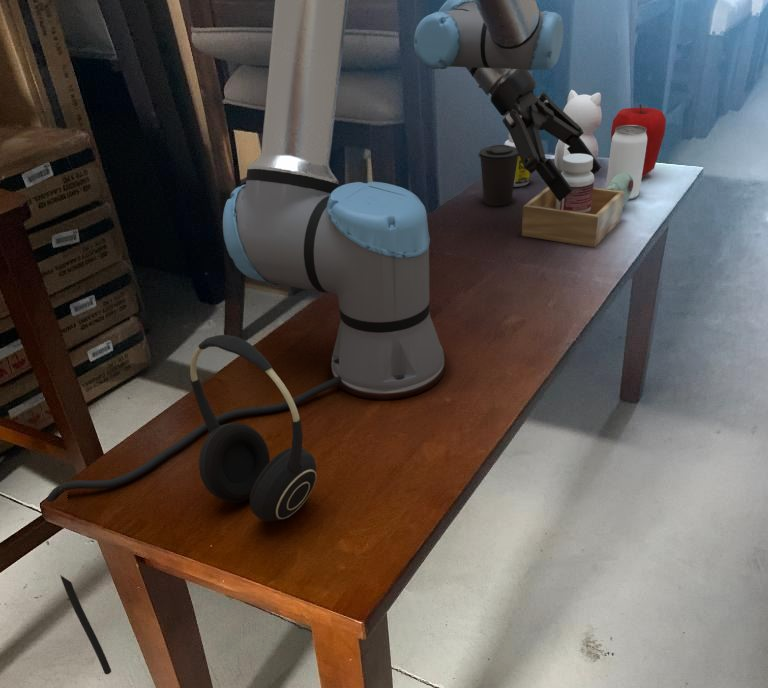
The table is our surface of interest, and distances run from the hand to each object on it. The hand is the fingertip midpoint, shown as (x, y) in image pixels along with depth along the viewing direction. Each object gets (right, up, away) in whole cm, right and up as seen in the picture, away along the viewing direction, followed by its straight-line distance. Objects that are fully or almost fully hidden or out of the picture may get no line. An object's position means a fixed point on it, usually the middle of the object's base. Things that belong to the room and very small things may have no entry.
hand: (581, 184), depth 134 cm
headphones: (-47, -56, -49) cm, 89 cm away
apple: (+17, +13, +26) cm, 33 cm away
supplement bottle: (-7, +11, +26) cm, 29 cm away
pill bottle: (0, -5, +5) cm, 7 cm away
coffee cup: (-12, +4, +19) cm, 23 cm away
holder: (0, -6, +6) cm, 8 cm away
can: (+12, +5, +17) cm, 22 cm away
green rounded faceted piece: (+10, 0, +11) cm, 15 cm away
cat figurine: (+6, +15, +30) cm, 34 cm away
